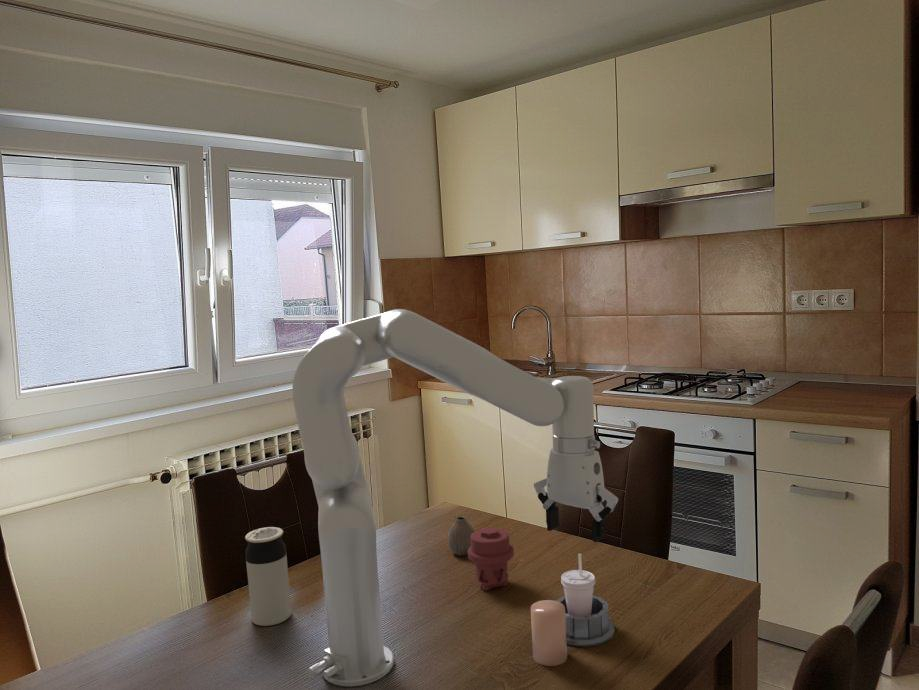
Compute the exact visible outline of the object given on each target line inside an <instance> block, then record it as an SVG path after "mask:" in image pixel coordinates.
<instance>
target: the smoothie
mask: <svg viewBox="0 0 919 690" xmlns="http://www.w3.org/2000/svg"><path fill="white" fill-rule="evenodd" d="M577 555H578V556H577V557H578V569H573V570H568V571H565V572H563V573H562V574H561V576H560V578H561V579H560V583H561V584H562V586H563V592H564V596H565V598H566V604H567V610H568V614H570V615H573V616H590V615H591V610H592V599H593V595H594V585H596V577H595V575H594V574H593V573H592V572H590V571H587V570H584V569H583V561H582V553H578V554H577Z"/></svg>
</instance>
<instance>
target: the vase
mask: <svg viewBox="0 0 919 690" xmlns="http://www.w3.org/2000/svg"><path fill="white" fill-rule="evenodd" d="M474 532H476V530H475V529H474V527H473V526H472V525H471V524H470V523H469V521H468V520H467V518H466V517H465V516H457V517H456V518H455V519H454V522H453V524H452V525H451V526H450V527H449V530H448V533H447V543H448V547H449V549H450V550H451V552H452V553H453V554H454V555H456V556H459V557H463V556H468V548H469V547H470V546H471V534H472V533H474Z"/></svg>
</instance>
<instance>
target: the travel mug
mask: <svg viewBox="0 0 919 690" xmlns="http://www.w3.org/2000/svg"><path fill="white" fill-rule="evenodd" d="M283 534H284V530H283V529H282V528H280V527H275V526H268V527H267V526H266V527H261V528H257V529H253V530H252V531H251V530H250V531H249V532H248V533H247V534H246V535H245V536H244V539H245V541H247V546H246V549H245V564H246V573H247V587H248V594H249V605H250V615H251V616H250V618H251V622H252V623H253V624H255V625H257V626H261V627H270V626H275V625H279V624H281V623H283V622H285V621H286V620H288V619H289V618H290V617H291V616H292V605H291V604H292V602H291V591H290V590H291V589H290V580H289V568H288V557H287V546H286V544H285V543H284V541H283V539H282V537H283Z"/></svg>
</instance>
